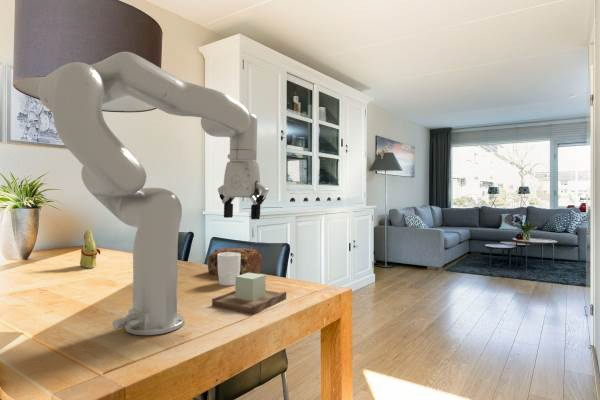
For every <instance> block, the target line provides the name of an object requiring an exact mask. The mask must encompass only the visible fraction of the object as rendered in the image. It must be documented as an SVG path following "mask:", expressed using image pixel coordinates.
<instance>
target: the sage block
mask: <svg viewBox="0 0 600 400" xmlns="http://www.w3.org/2000/svg"><path fill="white" fill-rule="evenodd" d="M266 280H267V279H266V274H262V273H260V274H255V273H245V274H242V275H239V276H236V277H235V285H234V291H235V298H238V299H243V300H249V301H255V300H257V299H259V298H262V297H264V296H265V290H266Z"/></svg>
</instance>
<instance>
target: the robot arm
mask: <svg viewBox="0 0 600 400" xmlns="http://www.w3.org/2000/svg"><path fill="white" fill-rule="evenodd" d="M37 93H38V98H39V100H40V102H41V104H42V105H43V106H44V107H45V108H46V109H48V110H49V111H50V112H52V116H53V117H52V118H53V123H54V128H55V130H56V133H57V135H58V137H59V139H60V141H61V142H62V143H63V145H64V146H65V147H66V148H67V150H68V151H69V152H70V153H71V155H73V156H74V157H75V158H76V159H77V160H78V162H79V163H81V165H82V168H81V173H80V174H81V179H82V183H83V184H84V187H85V188H86V189H87V191H88V192H89V193H90V194H91V195H92V196H93V197H94V198H96V200H97V201H99V202H100V204H102V206H104V207H105V208H106V210H108V211H109V212H111V214H113V215H114V216H115V217H116V218H117V219H118V220H119V221H120V222H122V223H123V224H125V225H127V226H130V227H134V228H137V229H136V233H135V237H134V241H133V247H132V248H133V249H132V308H131V309H128V314H126V315H125V317H120V318H117V319H114V320H113V321H112V327H113V329H114V330H117V329H121V328H124V330H125V331H126V332H127V333H128V334H131V335H137V336H155V335H162V334H166V333H169V332H173V331H175V330H178V329H180V328H181V327H182V326H184V324H185V317H184V316H183V315H182V314H180V313H178V259H179V258H178V253H179V252H178V249H179V248H178V245H179V244H178V243H179V232H180V226H181V221H182V216H183V207H182V204H181V201H180V199H179V197H178V196H177V194H175V193H174V192H173V191H171V190H168V189H166V188H161V187H144V186H145V184H146V182H147V173H146V170H145V168H144V166H143V164H142V163H141V162H140V160H138V158H136V156H135V155H134V154H133V153H132V152H131V151H130V150H129V149H128V147H126V146H125V144H124V143H122V141H121V140H120V139H119V138H118V137H117V136H116V135H115V133H114V132H113V131H112V130H111V129H110V127H109V125H107V122H106V120H105V119H104V115H103V105H105V104H107V103H110V102H112V101H115V100H118V99H121V98H123V97H126V96H130V97H132V98H134V99H136V100H139V101H141V102H143V103H145V104H147V105H150V106H152V107H153V108H156V109H157V110H160V111H162V112H164V113H166V114H168V115H172V116H178V117H192V118H193V117H195V118H200V126H201V128H202V130H203V131H204V132H205V133H206V135H209V136H211V137H214V138H215V137H216V138H229V154H227V159H229V161H227V163H226V165H225V170H224V177H223V184H222V185H221V186H220V187H218V188H217V192H218V194H219V198H220V200H221V203H222V204H223V218H226V219H228V218H230V219H231V218H233V216H234V214H233V213H234V204H233V201H234V200H235V198H245V199H247V198H249V199H250V201H251V203H252V204H251V206H250V219H251V220H260V217H261V205H263V202H264V201H265V200H266V198H267V195H268V193H269V190H270V189H269V188H268V187H266V186H264V185H263V184H262V183H261V177H260V167H259V163H258V162H257V158H258V157H257V155H258V154H257V153H258V152H257V151H258V150H257V149H258V117H257V115H255V114H254V113H251V112H249V111H248V109H247V108H246V107H245V106H244V105H243V104H242V103H241V102H239V101H238V100H236V99H234V98H232V97H231V96H230V95H228V94H226V93H223V92H221V91H218V90H217V89H213V88H209V87H205V86H202V85H199V84H195V83H191V82H187V81H184V80H182V79H181V78H179V77H177V76H175V75H173V74H171V73H170V72H168V71H167V70H164V69H162V68H161V67H159V66H157V65H156V64H154V63H153V62H150V61H149V60H147V59H145V58H144V57H141V56H139V55H138V54H136V53H133V52H131V51H120V52H118V53H115V54H112V55H111V56H108V57H106V58H105V59H103V60H100V61H98V62H95V63H93V64H87V63H85V62H81V61H75V62H68V63H66V64H64V65H61V66H60V67H58V68H57V69H55V70H54V71H52V72H50V73H48V74H47V75H46V76H44V77H43V78H42V79H41V80H40V83H39V85H38V90H37Z"/></svg>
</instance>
